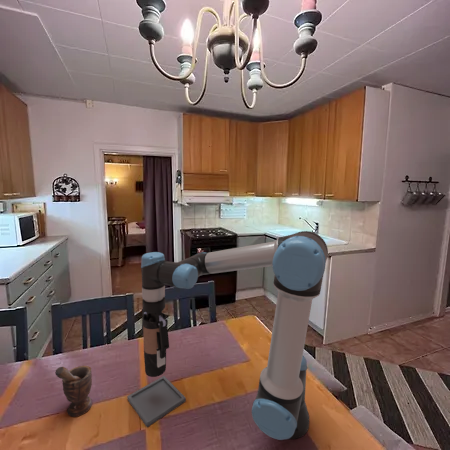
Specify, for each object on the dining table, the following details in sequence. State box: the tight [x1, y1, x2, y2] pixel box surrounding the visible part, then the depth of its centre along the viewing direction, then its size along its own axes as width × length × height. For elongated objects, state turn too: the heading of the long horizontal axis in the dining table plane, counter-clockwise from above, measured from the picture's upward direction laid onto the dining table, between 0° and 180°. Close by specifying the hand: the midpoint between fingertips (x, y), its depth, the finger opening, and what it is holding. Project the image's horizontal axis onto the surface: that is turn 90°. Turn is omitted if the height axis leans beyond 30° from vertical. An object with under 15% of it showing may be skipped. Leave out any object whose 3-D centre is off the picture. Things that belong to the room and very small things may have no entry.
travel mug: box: [142, 312, 167, 378], centre depth 89 cm, size 8×8×20 cm
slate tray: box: [127, 375, 187, 428], centre depth 91 cm, size 15×15×2 cm
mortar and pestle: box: [54, 365, 93, 418], centre depth 85 cm, size 12×9×20 cm
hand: (155, 359), depth 89 cm, fingers closed on travel mug, 8 cm apart
